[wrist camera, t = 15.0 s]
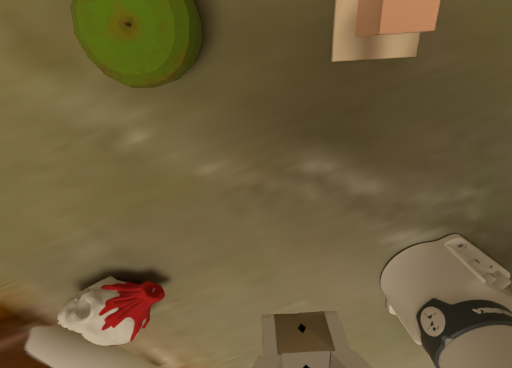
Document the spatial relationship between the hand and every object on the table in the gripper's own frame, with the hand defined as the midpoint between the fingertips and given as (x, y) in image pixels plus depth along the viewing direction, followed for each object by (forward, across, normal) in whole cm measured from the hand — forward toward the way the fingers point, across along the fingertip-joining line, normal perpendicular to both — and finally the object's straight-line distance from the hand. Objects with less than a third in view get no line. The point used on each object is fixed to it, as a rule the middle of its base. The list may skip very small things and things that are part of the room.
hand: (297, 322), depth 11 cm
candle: (+29, +25, +27) cm, 47 cm away
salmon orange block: (+28, -14, -13) cm, 34 cm away
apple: (+29, +12, -13) cm, 34 cm away
